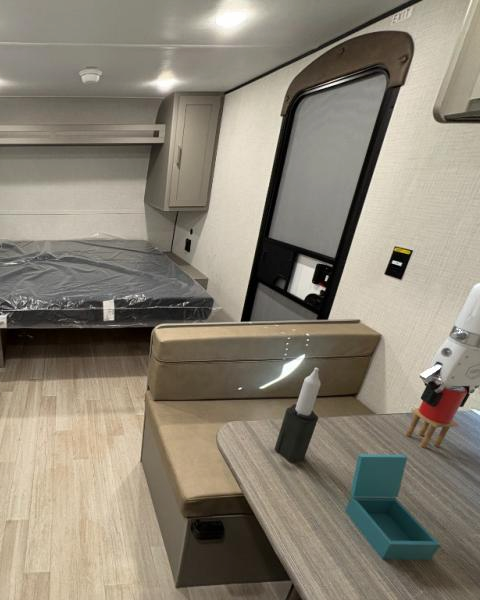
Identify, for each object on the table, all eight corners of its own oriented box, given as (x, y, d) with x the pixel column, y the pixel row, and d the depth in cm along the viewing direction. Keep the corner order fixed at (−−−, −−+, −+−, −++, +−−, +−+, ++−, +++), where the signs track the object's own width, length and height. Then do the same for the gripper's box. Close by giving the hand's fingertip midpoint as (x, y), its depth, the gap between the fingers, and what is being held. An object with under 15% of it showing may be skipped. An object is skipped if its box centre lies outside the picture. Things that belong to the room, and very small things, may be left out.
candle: (271, 450, 78) (297, 364, 69) (285, 444, 80) (312, 359, 71) (291, 466, 74) (321, 377, 65) (305, 459, 76) (337, 371, 67)
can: (439, 410, 80) (454, 380, 77) (457, 425, 75) (475, 394, 72) (412, 406, 82) (426, 376, 78) (429, 421, 77) (445, 390, 73)
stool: (420, 431, 84) (432, 407, 81) (445, 449, 79) (459, 424, 76) (400, 432, 84) (411, 408, 81) (423, 450, 79) (437, 425, 76)
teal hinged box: (429, 561, 56) (440, 544, 54) (381, 560, 56) (390, 544, 54) (386, 513, 64) (395, 497, 62) (343, 512, 64) (351, 496, 62)
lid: (407, 457, 60) (403, 454, 61) (361, 457, 60) (358, 454, 61) (397, 497, 62) (393, 494, 62) (353, 496, 62) (350, 493, 63)
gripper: (455, 345, 67) (420, 413, 74) (537, 346, 67) (495, 414, 74) (420, 329, 74) (391, 392, 81) (494, 330, 74) (459, 393, 81)
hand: (441, 402), depth 77 cm, fingers closed on can, 5 cm apart
